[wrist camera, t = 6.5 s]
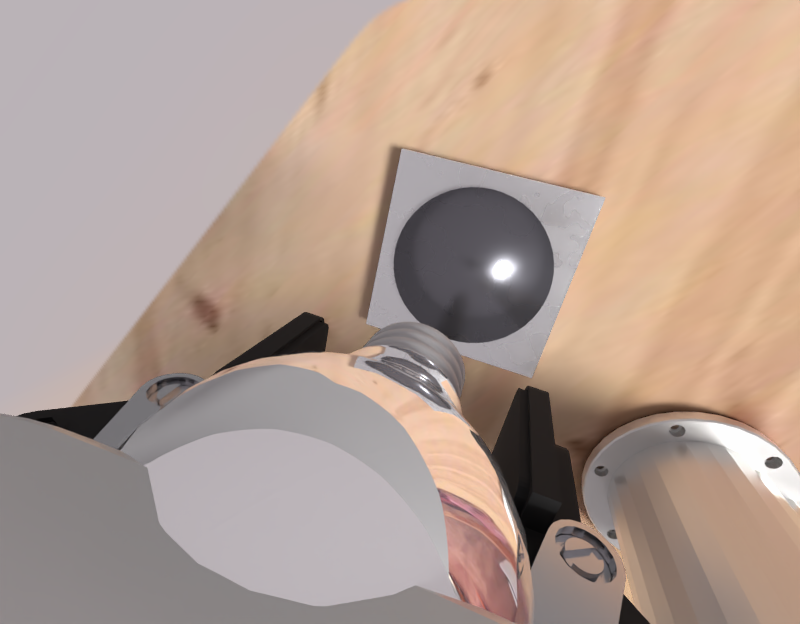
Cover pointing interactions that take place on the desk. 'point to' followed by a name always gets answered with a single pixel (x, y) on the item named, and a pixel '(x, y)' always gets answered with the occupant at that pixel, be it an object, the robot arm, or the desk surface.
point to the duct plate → (480, 257)
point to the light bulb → (339, 478)
